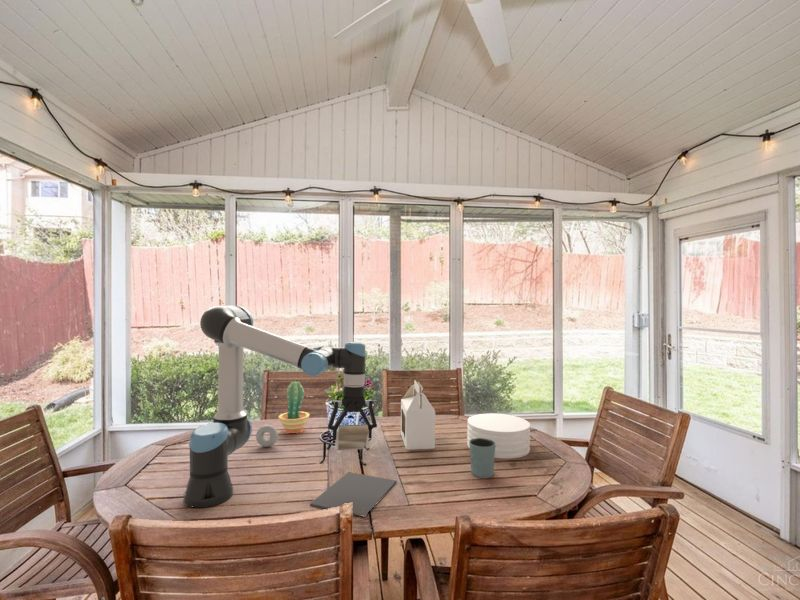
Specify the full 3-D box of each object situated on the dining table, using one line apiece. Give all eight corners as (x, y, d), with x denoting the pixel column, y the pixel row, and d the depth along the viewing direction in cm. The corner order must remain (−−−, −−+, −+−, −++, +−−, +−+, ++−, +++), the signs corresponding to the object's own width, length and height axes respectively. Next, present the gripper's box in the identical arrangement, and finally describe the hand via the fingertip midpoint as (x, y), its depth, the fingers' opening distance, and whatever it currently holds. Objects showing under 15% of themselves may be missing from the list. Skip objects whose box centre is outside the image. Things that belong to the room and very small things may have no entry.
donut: (279, 445, 184) (279, 423, 184) (276, 448, 181) (276, 426, 181) (257, 445, 184) (257, 423, 184) (254, 448, 181) (254, 426, 181)
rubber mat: (365, 517, 123) (365, 515, 123) (309, 505, 131) (309, 503, 131) (396, 482, 148) (396, 480, 148) (348, 473, 155) (348, 471, 155)
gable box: (435, 449, 181) (435, 387, 181) (406, 450, 179) (406, 387, 179) (426, 433, 203) (426, 377, 203) (400, 433, 202) (401, 378, 202)
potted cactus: (314, 427, 210) (315, 380, 210) (299, 437, 195) (300, 386, 195) (288, 425, 214) (288, 378, 214) (272, 434, 199) (272, 384, 199)
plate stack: (456, 440, 193) (456, 416, 193) (505, 433, 203) (505, 411, 203) (489, 462, 166) (489, 435, 167) (543, 453, 176) (543, 427, 176)
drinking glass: (476, 479, 150) (476, 447, 150) (464, 468, 160) (464, 438, 160) (500, 476, 153) (500, 445, 153) (487, 466, 162) (487, 436, 162)
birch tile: (335, 442, 148) (339, 425, 140) (362, 441, 150) (367, 424, 142) (336, 450, 146) (339, 433, 138) (363, 448, 148) (368, 432, 140)
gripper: (382, 383, 151) (380, 443, 150) (321, 384, 145) (318, 446, 144) (386, 386, 143) (384, 449, 142) (322, 387, 138) (320, 453, 137)
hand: (351, 448), depth 143 cm, fingers closed on birch tile, 10 cm apart
